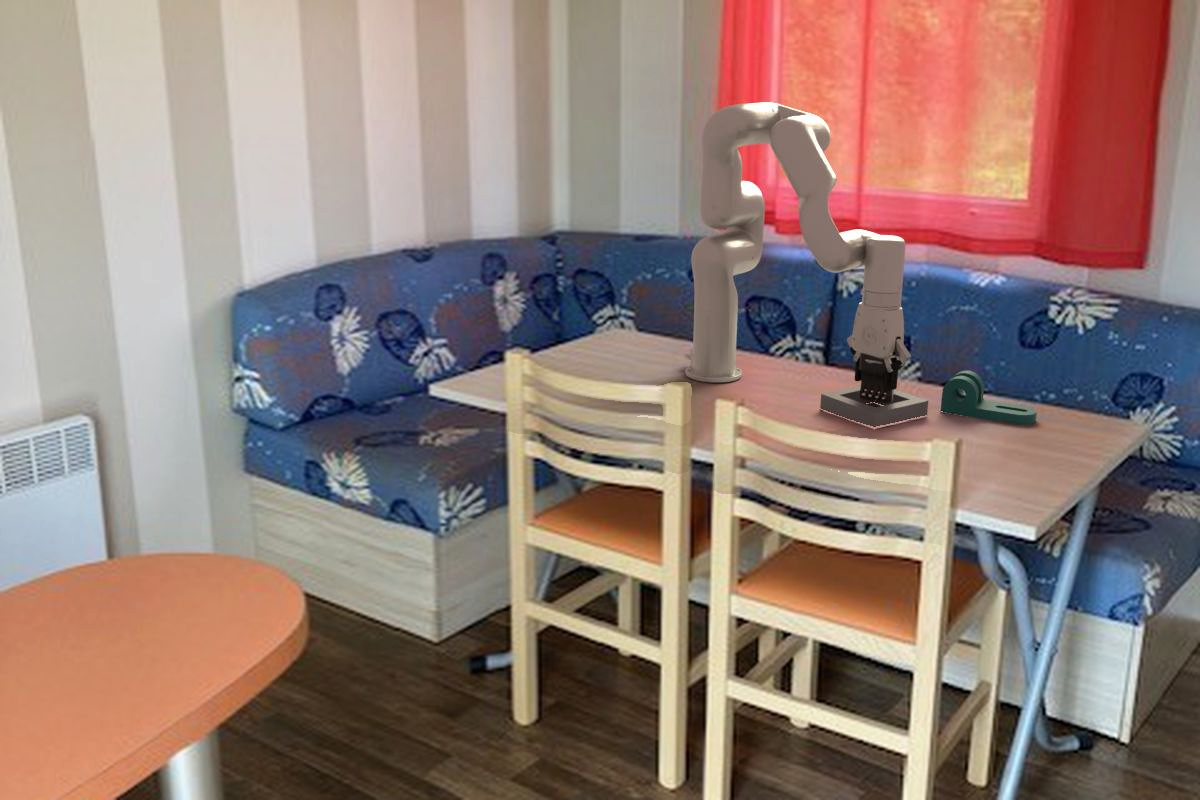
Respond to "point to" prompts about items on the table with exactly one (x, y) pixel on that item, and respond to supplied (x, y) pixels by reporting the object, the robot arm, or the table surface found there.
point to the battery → (873, 379)
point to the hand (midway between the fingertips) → (875, 384)
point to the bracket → (981, 402)
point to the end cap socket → (857, 410)
